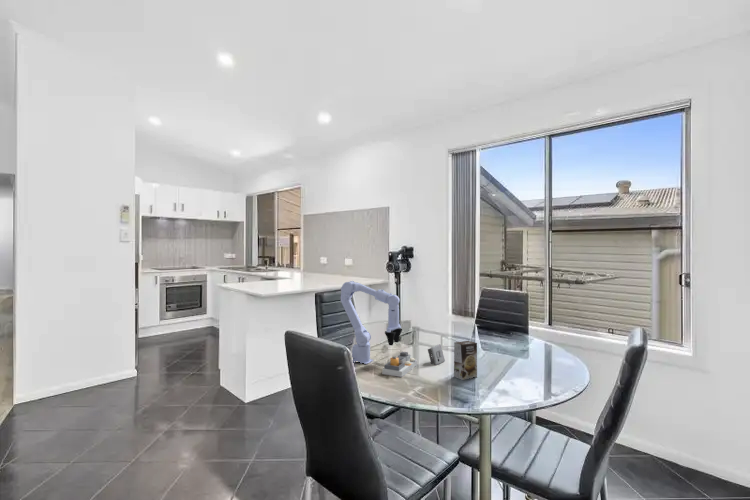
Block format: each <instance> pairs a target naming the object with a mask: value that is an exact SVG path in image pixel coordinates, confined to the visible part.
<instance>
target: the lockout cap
mask: <svg viewBox="0 0 750 500" xmlns="http://www.w3.org/2000/svg"><path fill="white" fill-rule="evenodd" d="M397 357H398V356H392V357H390V358H389V359H390V360H389V362H390V363H391V365H393V366H399V358H397Z"/></svg>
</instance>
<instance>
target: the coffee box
mask: <svg viewBox="0 0 750 500" xmlns="http://www.w3.org/2000/svg"><path fill="white" fill-rule="evenodd" d="M453 377H455V378H457V379H459V380H462V381H464V380H469V378H470V379H474V378H473V377H476V378H477V377H478V343H477V342H475V341H472V340H471V341H470V340H464V341H454V342H453Z"/></svg>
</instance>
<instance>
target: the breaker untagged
mask: <svg viewBox="0 0 750 500" xmlns="http://www.w3.org/2000/svg"><path fill="white" fill-rule="evenodd" d="M399 355H400V356H404V357H407V356H408V355H409V352H408V351H401V352H399Z"/></svg>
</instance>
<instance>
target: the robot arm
mask: <svg viewBox="0 0 750 500" xmlns="http://www.w3.org/2000/svg"><path fill="white" fill-rule="evenodd" d="M357 292H363V293H365V294H368V295H370V296H373V297H374V299H375V300H377V301H378V302H379V301H380V302H381V303H384V304H388V310H387V311H388V312H387V313H388V317H387V318H388V319H387V322H388V325H387V327H386V330H385V331H384V334H385V336H386V339H387V342H388V345H389V346H394V344H395V343H399V340H400V337H401V334H402V331H403V328H402V326H401V323H400V309H399V308H400V306H399V303H400V302H401V300H400V297H399V296H398V295H397V294H393V293H392V292H390V293H389V292H387V291H385V290H384V289H381V288H379V289H377V290H376V289H374V288H372V287H370V286H367V285H364V284H362V283H361V282H356V281H353V280H349V281H346V282H344V283H343V284H342V285H341V287H340V303H341V305H342V307H343V309H344V310H345V313H346V315H347V317H348V320H349V321H350V324H351V326H352V327H353V330H354V336H355V342H356V343H355V344H353V345H352V349H351V358H352V357H353V362H352V363H355V362H356V361H358V362H360V363H359V364H362V363H364V365H368V364H369V363H372V362H373V361H374V359H372V358H371V342H370V341H371V339H372V335H371V333H370V332H369V331H368V330H367V329H366V327H365V326H364V325H363V323H362V321H361V318H360V316H359V315H358V312H357V310H356V308H355V306H354V304H353V301H352V297H353V295H354V294H355V293H357ZM354 361H355V362H354Z"/></svg>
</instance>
